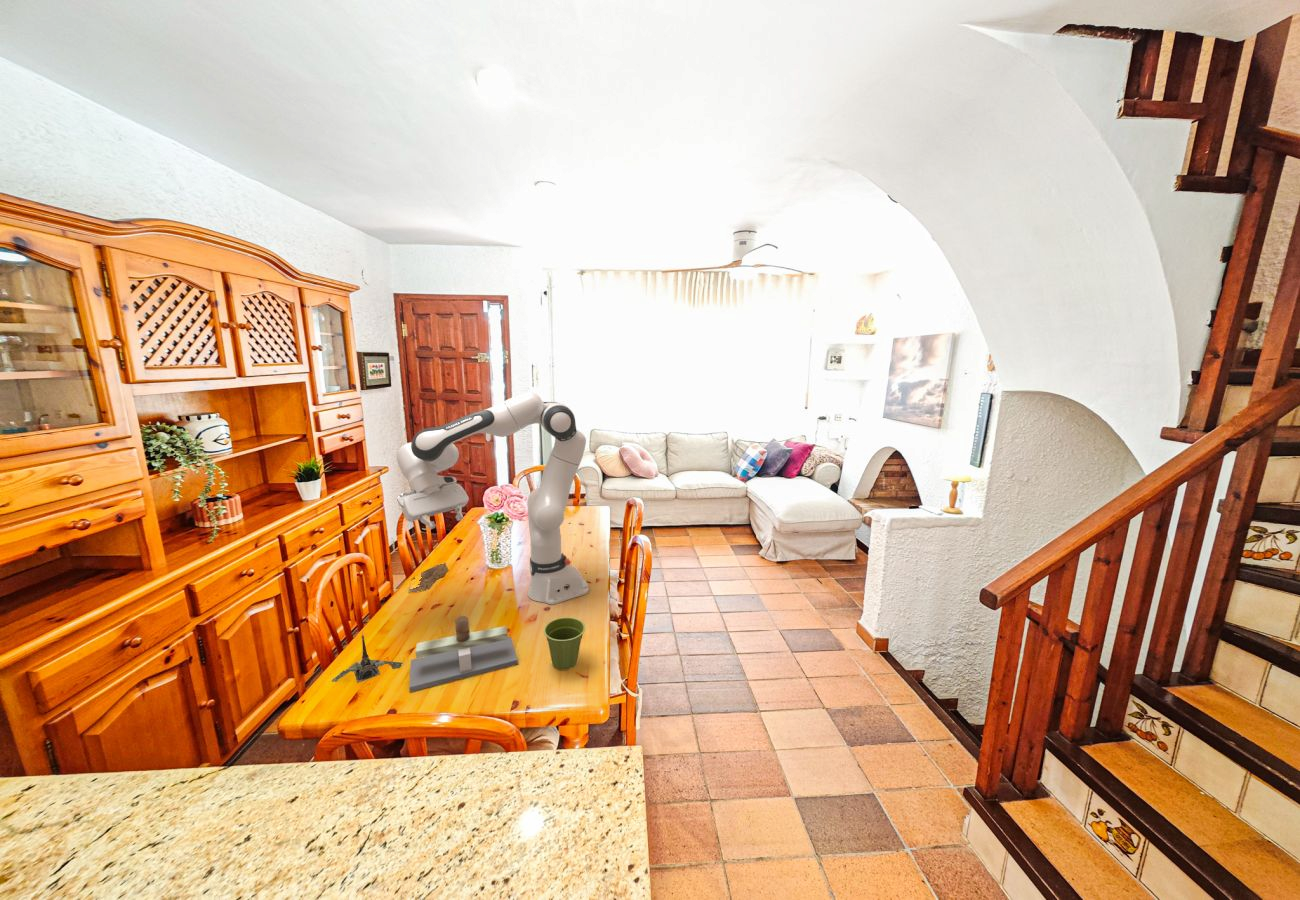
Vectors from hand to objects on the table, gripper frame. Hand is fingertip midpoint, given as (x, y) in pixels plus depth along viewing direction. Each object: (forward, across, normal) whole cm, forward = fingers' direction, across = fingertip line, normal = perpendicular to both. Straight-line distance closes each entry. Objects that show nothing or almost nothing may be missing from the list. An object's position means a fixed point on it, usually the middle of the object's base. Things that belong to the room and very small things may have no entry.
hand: (447, 523), depth 145 cm
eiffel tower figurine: (+27, -27, +24) cm, 45 cm away
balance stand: (+39, -10, +11) cm, 42 cm away
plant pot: (+55, +8, -5) cm, 56 cm away
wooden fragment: (-1, +13, +52) cm, 53 cm away
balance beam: (+35, -10, +6) cm, 37 cm away
